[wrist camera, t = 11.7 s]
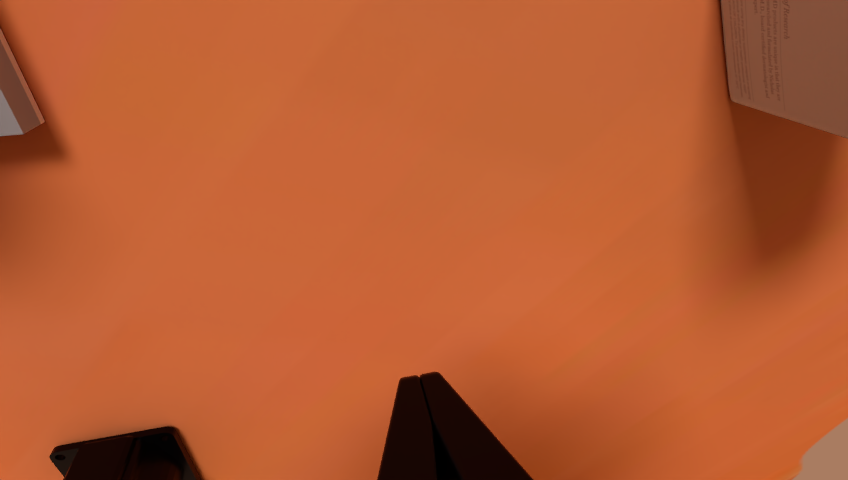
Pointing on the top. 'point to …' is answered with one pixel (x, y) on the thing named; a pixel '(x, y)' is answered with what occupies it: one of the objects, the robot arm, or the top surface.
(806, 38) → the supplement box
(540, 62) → the top surface
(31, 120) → the socket
